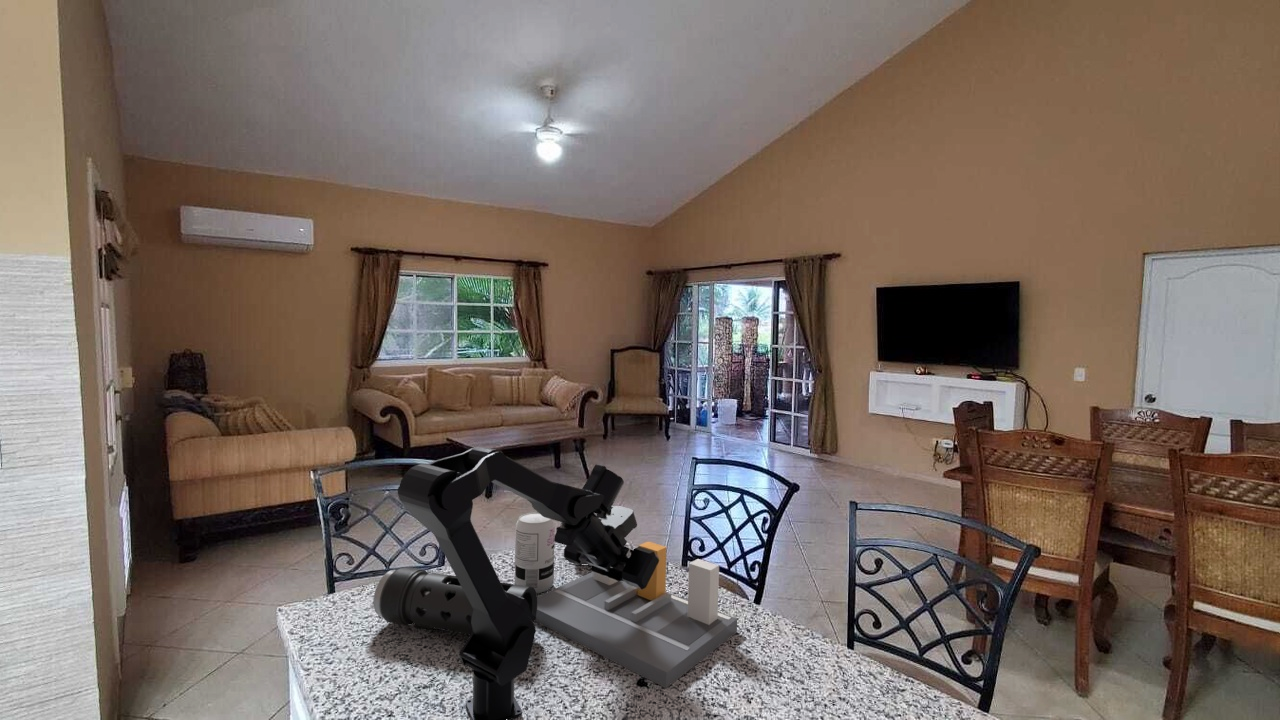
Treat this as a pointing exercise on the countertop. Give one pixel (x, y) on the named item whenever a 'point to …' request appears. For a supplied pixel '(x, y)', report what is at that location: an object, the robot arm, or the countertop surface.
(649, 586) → the orange tall block
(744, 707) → the countertop surface
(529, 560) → the supplement can
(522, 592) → the muzzle brake
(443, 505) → the robot arm
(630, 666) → the slotted gray tray
